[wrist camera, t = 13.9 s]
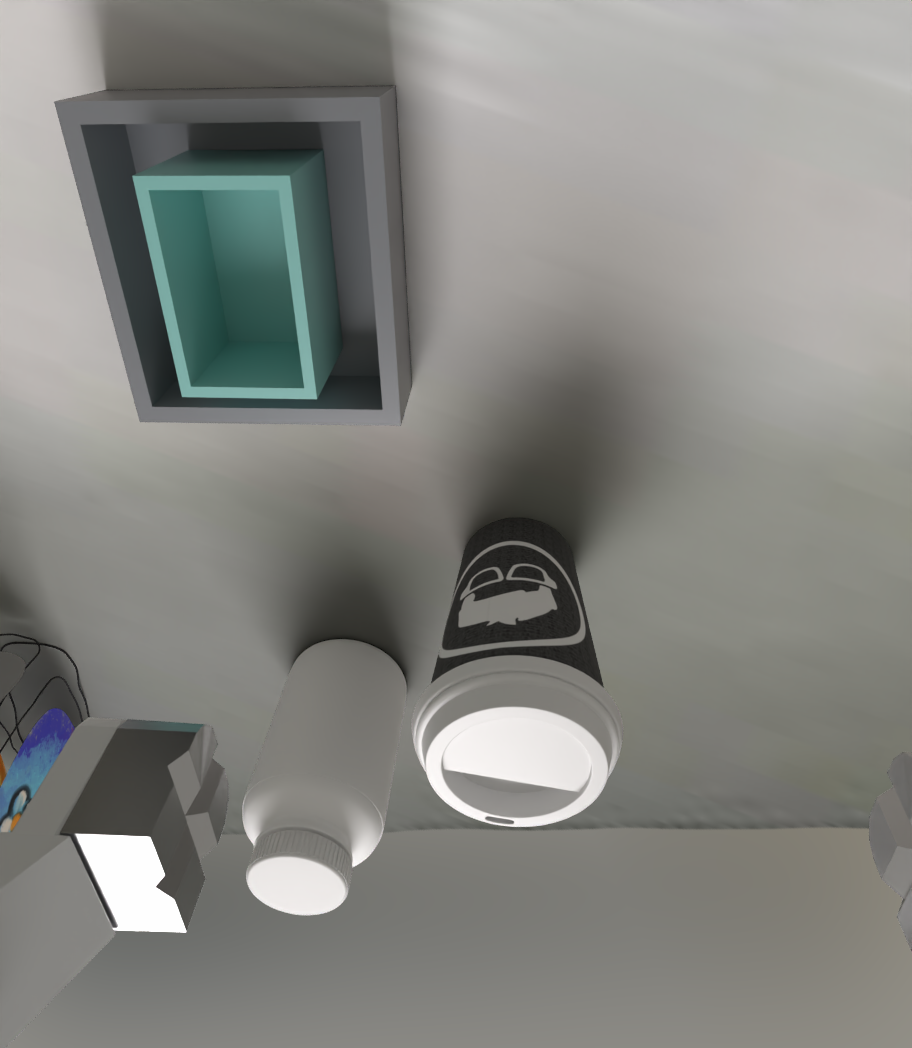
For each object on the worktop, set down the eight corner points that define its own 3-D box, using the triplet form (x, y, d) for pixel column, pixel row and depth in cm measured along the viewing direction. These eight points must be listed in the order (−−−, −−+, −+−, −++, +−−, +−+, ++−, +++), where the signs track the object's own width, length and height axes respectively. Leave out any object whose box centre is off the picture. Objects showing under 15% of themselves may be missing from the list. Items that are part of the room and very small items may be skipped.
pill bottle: (370, 618, 50) (319, 826, 37) (429, 702, 54) (401, 916, 41) (267, 655, 52) (187, 862, 40) (330, 732, 56) (276, 943, 43)
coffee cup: (407, 579, 48) (367, 784, 35) (494, 465, 43) (483, 656, 31) (537, 647, 50) (542, 863, 38) (633, 546, 45) (675, 755, 33)
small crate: (323, 149, 34) (289, 175, 29) (343, 348, 39) (316, 399, 34) (188, 150, 35) (132, 175, 30) (224, 346, 40) (182, 397, 35)
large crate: (395, 85, 33) (379, 97, 29) (411, 386, 41) (400, 425, 37) (105, 89, 34) (54, 101, 30) (174, 383, 42) (139, 421, 38)
